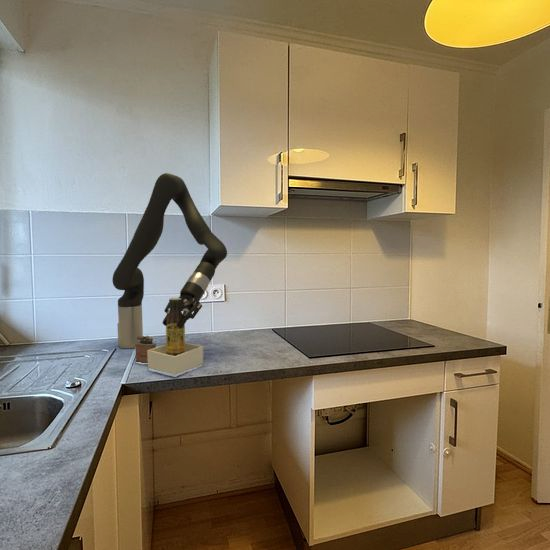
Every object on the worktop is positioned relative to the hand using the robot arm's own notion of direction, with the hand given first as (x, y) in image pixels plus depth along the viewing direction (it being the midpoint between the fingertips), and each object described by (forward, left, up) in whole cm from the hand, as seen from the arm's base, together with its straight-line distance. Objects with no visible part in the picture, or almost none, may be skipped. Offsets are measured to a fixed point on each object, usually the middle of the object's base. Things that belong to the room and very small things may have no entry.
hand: (171, 325), depth 113 cm
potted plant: (-13, 0, -15) cm, 20 cm away
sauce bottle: (0, +2, -11) cm, 11 cm away
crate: (0, +2, -15) cm, 15 cm away
